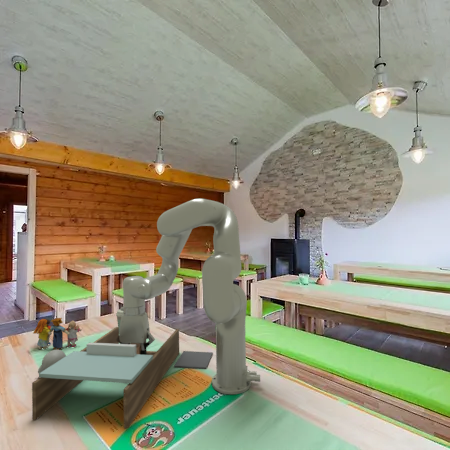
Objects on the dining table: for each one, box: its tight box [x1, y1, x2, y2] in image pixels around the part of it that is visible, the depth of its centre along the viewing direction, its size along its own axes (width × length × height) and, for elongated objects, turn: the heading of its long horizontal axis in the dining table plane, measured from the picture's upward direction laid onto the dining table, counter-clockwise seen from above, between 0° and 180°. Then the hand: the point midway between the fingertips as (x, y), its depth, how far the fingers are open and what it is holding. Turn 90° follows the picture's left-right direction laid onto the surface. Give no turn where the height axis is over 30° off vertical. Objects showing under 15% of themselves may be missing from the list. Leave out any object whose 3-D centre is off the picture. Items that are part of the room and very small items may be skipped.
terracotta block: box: [130, 343, 141, 354], centre depth 102 cm, size 5×5×6 cm
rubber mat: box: [173, 350, 213, 370], centre depth 105 cm, size 12×12×1 cm
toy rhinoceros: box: [37, 349, 67, 374], centre depth 95 cm, size 7×12×8 cm, turn 73°
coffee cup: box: [115, 308, 124, 333], centre depth 131 cm, size 8×9×12 cm
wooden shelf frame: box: [31, 326, 180, 429], centre depth 92 cm, size 27×42×10 cm, turn 172°
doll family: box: [32, 317, 82, 350], centre depth 118 cm, size 21×10×13 cm, turn 80°
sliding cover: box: [38, 342, 153, 384], centre depth 81 cm, size 27×14×4 cm, turn 82°
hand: (135, 359), depth 102 cm, fingers closed on terracotta block, 5 cm apart
